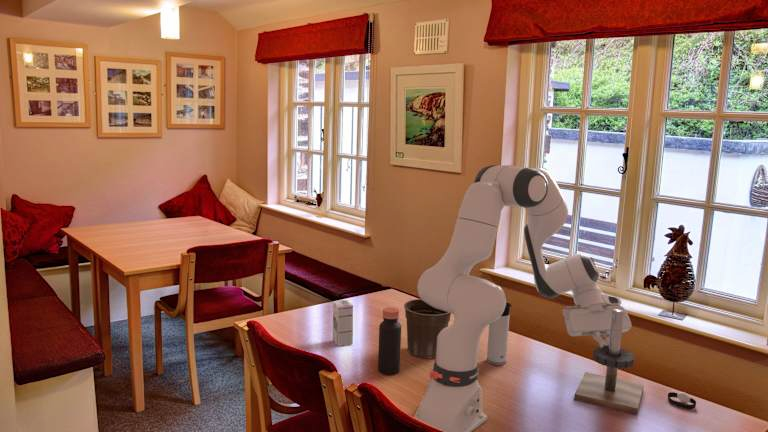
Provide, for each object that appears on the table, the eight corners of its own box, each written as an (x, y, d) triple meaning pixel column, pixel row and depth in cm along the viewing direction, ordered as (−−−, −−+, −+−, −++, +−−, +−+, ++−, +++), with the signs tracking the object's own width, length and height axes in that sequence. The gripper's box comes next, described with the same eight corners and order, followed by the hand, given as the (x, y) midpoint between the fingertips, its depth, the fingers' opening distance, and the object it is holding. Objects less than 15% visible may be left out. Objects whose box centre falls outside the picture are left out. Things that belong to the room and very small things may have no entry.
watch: (697, 407, 181) (699, 395, 181) (691, 412, 178) (693, 400, 178) (670, 397, 187) (671, 386, 186) (664, 402, 184) (665, 391, 183)
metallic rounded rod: (615, 392, 184) (623, 313, 179) (603, 390, 185) (611, 311, 181) (616, 388, 187) (625, 310, 182) (604, 385, 188) (612, 308, 184)
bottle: (401, 368, 200) (404, 307, 197) (396, 377, 194) (398, 314, 190) (381, 365, 202) (383, 305, 198) (375, 373, 196) (377, 312, 192)
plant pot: (456, 348, 218) (459, 303, 215) (440, 365, 203) (443, 317, 200) (413, 339, 224) (414, 295, 221) (394, 355, 210) (396, 309, 207)
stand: (636, 415, 175) (637, 408, 175) (573, 400, 183) (574, 393, 182) (643, 390, 190) (643, 384, 190) (584, 378, 198) (585, 371, 197)
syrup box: (353, 344, 218) (354, 304, 215) (336, 346, 216) (337, 306, 213) (348, 338, 223) (348, 299, 220) (331, 340, 221) (332, 300, 218)
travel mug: (507, 366, 204) (511, 307, 200) (486, 364, 205) (490, 305, 202) (507, 359, 210) (511, 301, 206) (487, 356, 211) (491, 299, 208)
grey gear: (630, 371, 177) (631, 364, 177) (590, 362, 182) (590, 356, 182) (635, 357, 187) (636, 351, 186) (596, 350, 192) (597, 343, 191)
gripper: (565, 301, 190) (580, 345, 182) (624, 298, 195) (641, 340, 187) (556, 311, 195) (570, 353, 187) (614, 307, 200) (630, 348, 193)
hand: (606, 347), depth 187 cm, fingers closed, pressing on grey gear
